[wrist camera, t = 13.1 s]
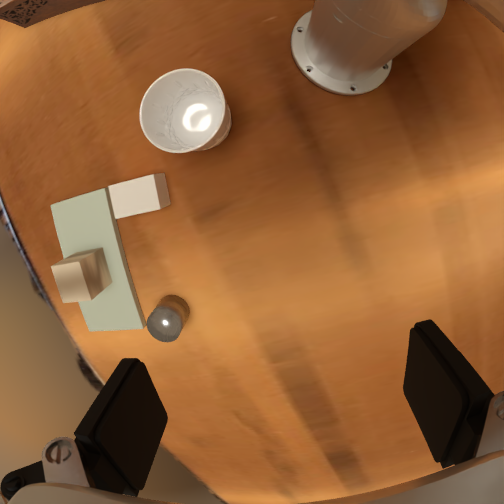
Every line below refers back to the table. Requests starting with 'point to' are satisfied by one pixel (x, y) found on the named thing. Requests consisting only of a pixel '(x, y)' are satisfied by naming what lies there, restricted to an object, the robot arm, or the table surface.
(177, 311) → the metal cylinder
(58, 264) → the maple block
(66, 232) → the sage board
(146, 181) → the white block
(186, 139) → the white cup
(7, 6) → the tissue box cover
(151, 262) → the table surface
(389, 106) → the table surface
